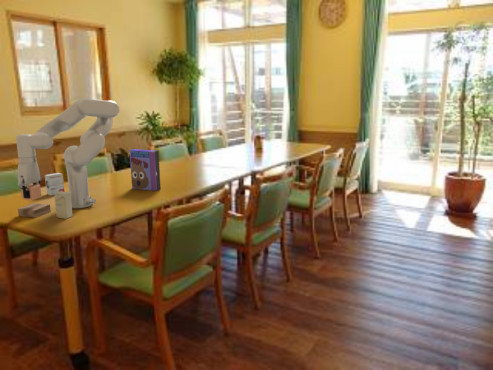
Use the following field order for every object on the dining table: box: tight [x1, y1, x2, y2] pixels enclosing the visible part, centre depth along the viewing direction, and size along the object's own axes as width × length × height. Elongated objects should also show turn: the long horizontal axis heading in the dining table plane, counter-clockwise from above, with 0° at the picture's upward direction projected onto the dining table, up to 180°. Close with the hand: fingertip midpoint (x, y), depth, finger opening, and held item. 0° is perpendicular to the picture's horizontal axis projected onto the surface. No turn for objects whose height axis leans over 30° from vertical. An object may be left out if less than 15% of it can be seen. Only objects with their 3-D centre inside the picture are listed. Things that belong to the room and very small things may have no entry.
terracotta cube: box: [20, 184, 42, 201], centre depth 198 cm, size 6×6×6 cm
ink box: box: [44, 172, 66, 196], centre depth 238 cm, size 9×5×12 cm, turn 141°
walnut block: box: [17, 202, 52, 218], centre depth 201 cm, size 10×10×4 cm
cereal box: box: [128, 148, 162, 192], centre depth 246 cm, size 17×5×24 cm, turn 68°
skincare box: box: [54, 191, 73, 220], centre depth 194 cm, size 6×4×12 cm
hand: (31, 196), depth 199 cm, fingers closed on terracotta cube, 6 cm apart
